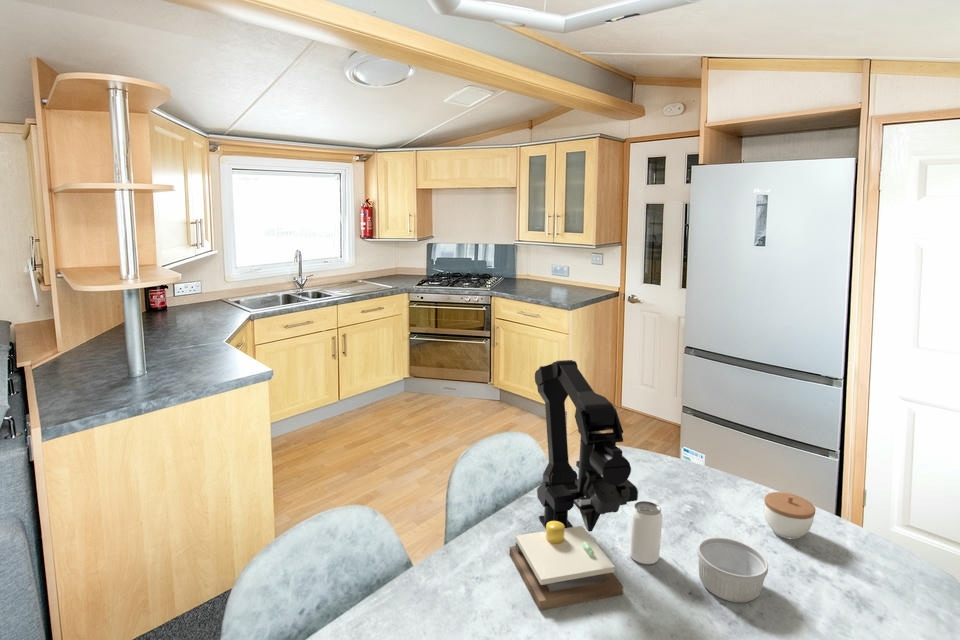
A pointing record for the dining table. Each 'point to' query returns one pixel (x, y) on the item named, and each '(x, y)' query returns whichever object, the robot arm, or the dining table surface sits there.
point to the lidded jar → (788, 514)
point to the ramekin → (731, 569)
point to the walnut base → (563, 594)
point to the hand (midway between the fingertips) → (589, 530)
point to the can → (645, 533)
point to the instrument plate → (563, 554)
